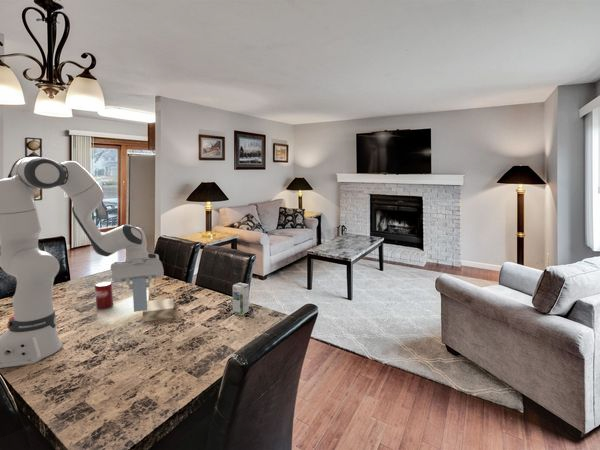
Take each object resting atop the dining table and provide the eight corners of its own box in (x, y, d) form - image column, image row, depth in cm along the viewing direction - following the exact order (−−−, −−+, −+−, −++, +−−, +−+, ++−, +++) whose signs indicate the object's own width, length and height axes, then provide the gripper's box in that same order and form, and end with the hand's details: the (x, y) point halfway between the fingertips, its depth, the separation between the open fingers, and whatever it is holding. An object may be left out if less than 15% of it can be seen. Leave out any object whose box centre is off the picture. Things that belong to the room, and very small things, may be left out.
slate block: (134, 311, 136) (132, 282, 134) (133, 307, 140) (132, 278, 138) (147, 309, 138) (146, 280, 136) (146, 305, 142) (145, 277, 140)
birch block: (143, 322, 146) (142, 311, 145) (145, 311, 158) (144, 301, 157) (174, 318, 151) (173, 308, 150) (173, 307, 163) (173, 298, 162)
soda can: (105, 310, 157) (103, 286, 155) (92, 309, 158) (90, 285, 156) (116, 304, 164) (115, 282, 162) (104, 303, 165) (102, 281, 163)
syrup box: (232, 314, 156) (231, 285, 153) (240, 309, 161) (239, 281, 159) (241, 316, 153) (241, 287, 151) (249, 312, 158) (249, 283, 156)
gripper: (110, 258, 137) (110, 287, 130) (162, 254, 147) (165, 281, 140) (111, 266, 142) (111, 294, 135) (161, 261, 152) (164, 288, 145)
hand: (139, 287), depth 137 cm, fingers closed on slate block, 5 cm apart
